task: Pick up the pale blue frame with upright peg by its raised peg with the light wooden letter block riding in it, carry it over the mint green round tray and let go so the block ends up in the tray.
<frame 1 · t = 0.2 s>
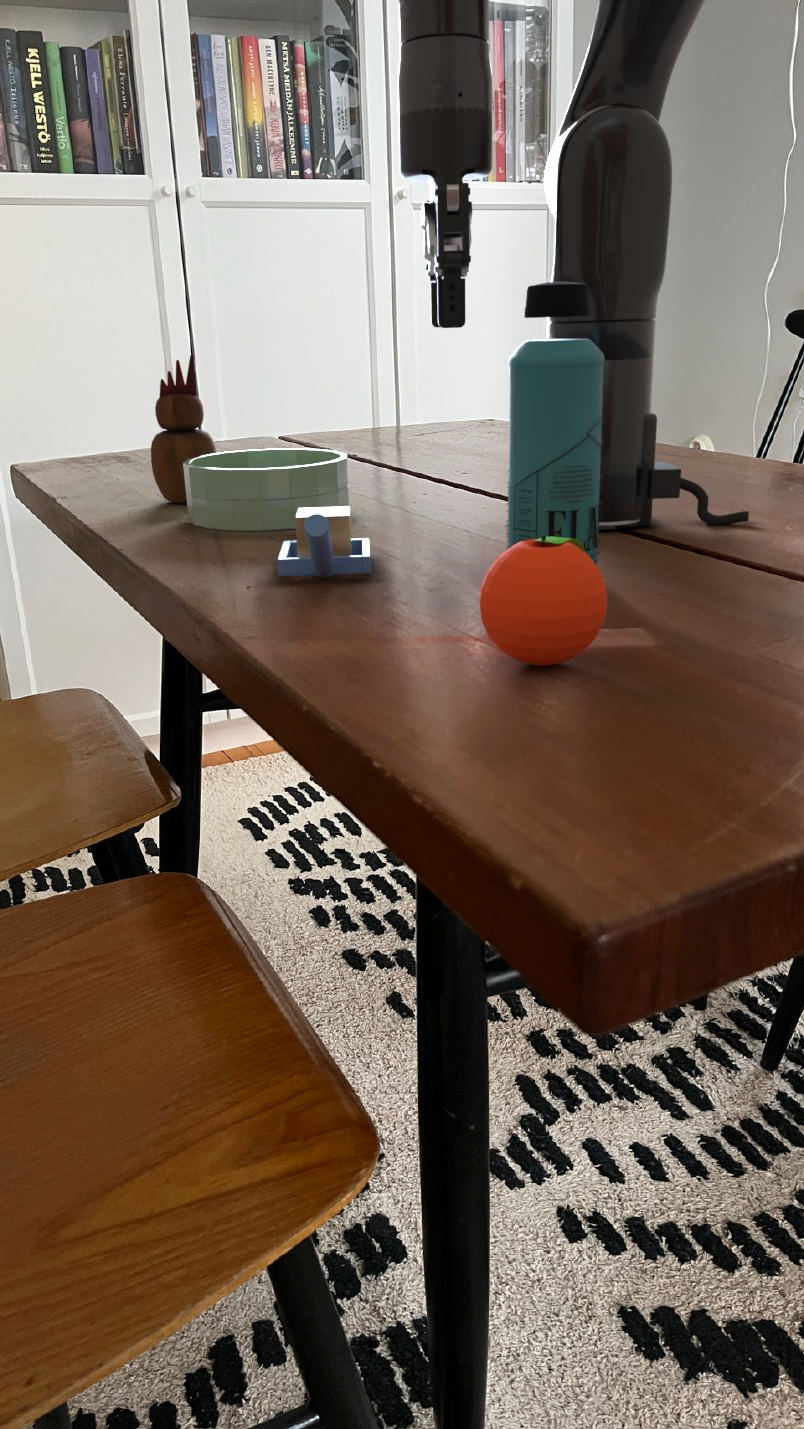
hand: (447, 327, 90), 17 cm above the table, tool pointing down, fingers open, 8 cm apart
frame with upright peg: (326, 571, 81), on the table, touching letter block
mint green round tray: (270, 522, 102), on the table
wooden figurine: (188, 503, 114), on the table
letter block: (326, 563, 81), point 1 cm above the table, touching frame with upright peg
clementine: (546, 663, 59), on the table
beverage bottle: (551, 591, 74), on the table
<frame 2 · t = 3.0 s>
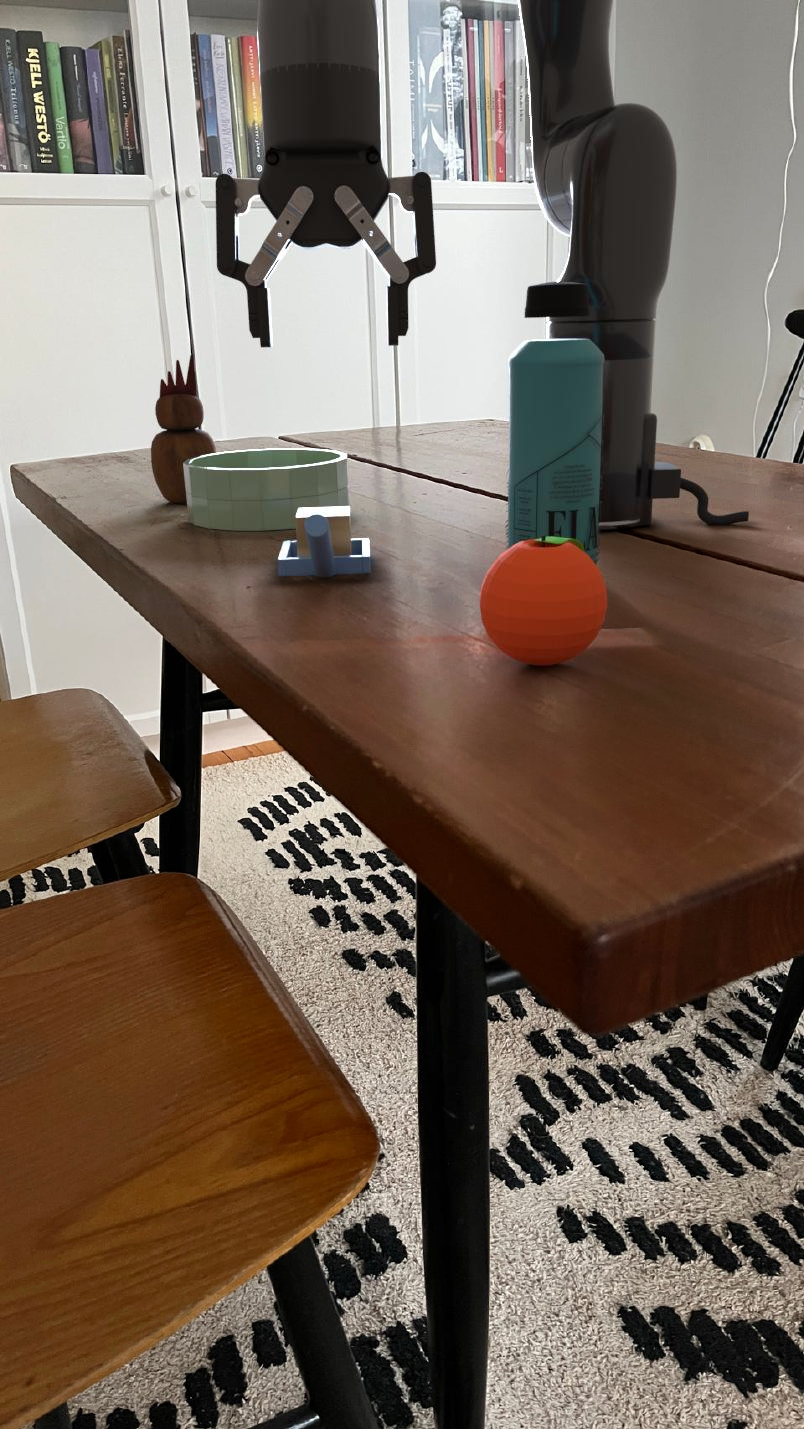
hand: (330, 346, 71), 16 cm above the table, tool pointing down, fingers open, 8 cm apart
nothing on the table moved.
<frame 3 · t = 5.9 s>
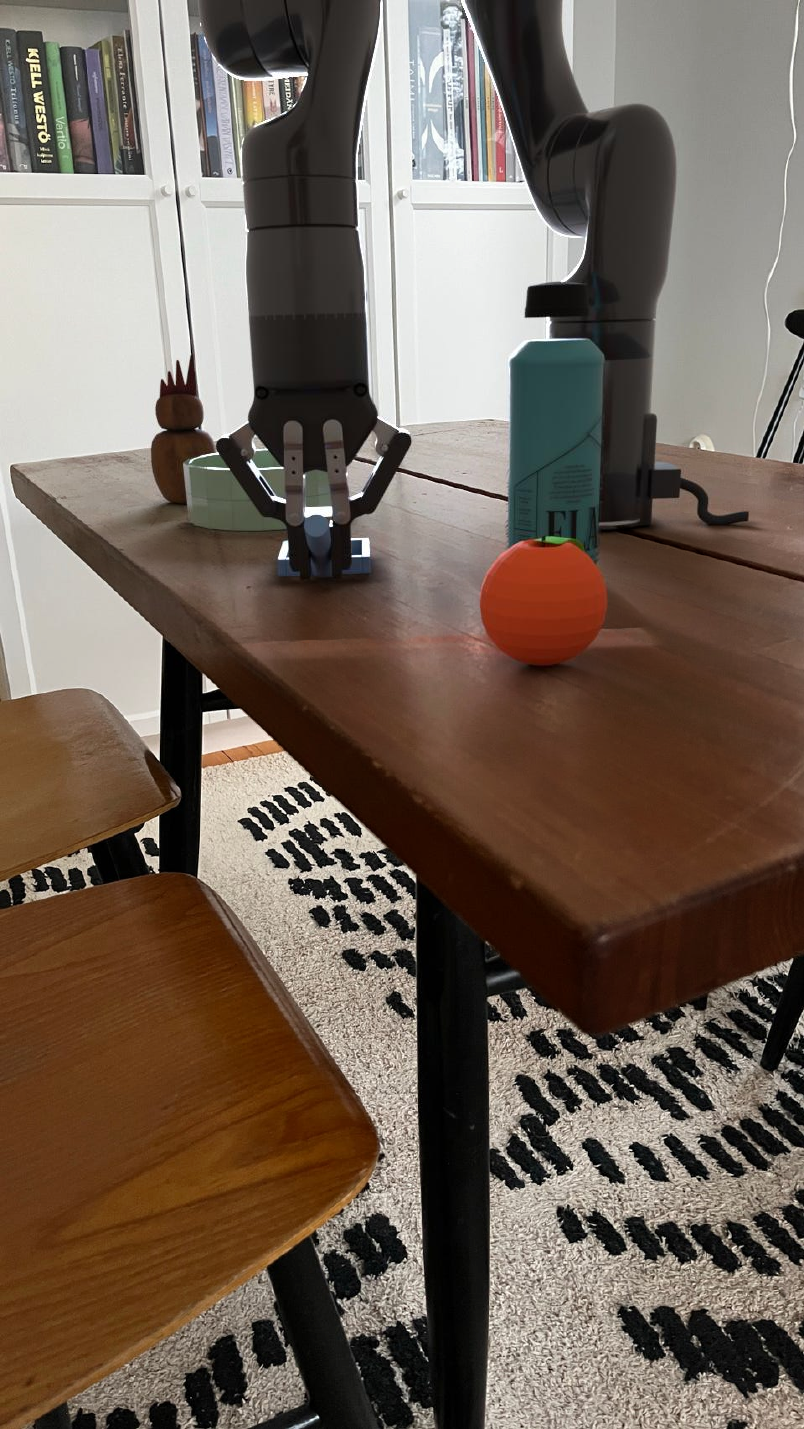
hand: (322, 576, 73), 2 cm above the table, tool pointing down, fingers closed on frame with upright peg
frame with upright peg: (326, 571, 81), on the table, touching gripper, letter block
everything else where it was.
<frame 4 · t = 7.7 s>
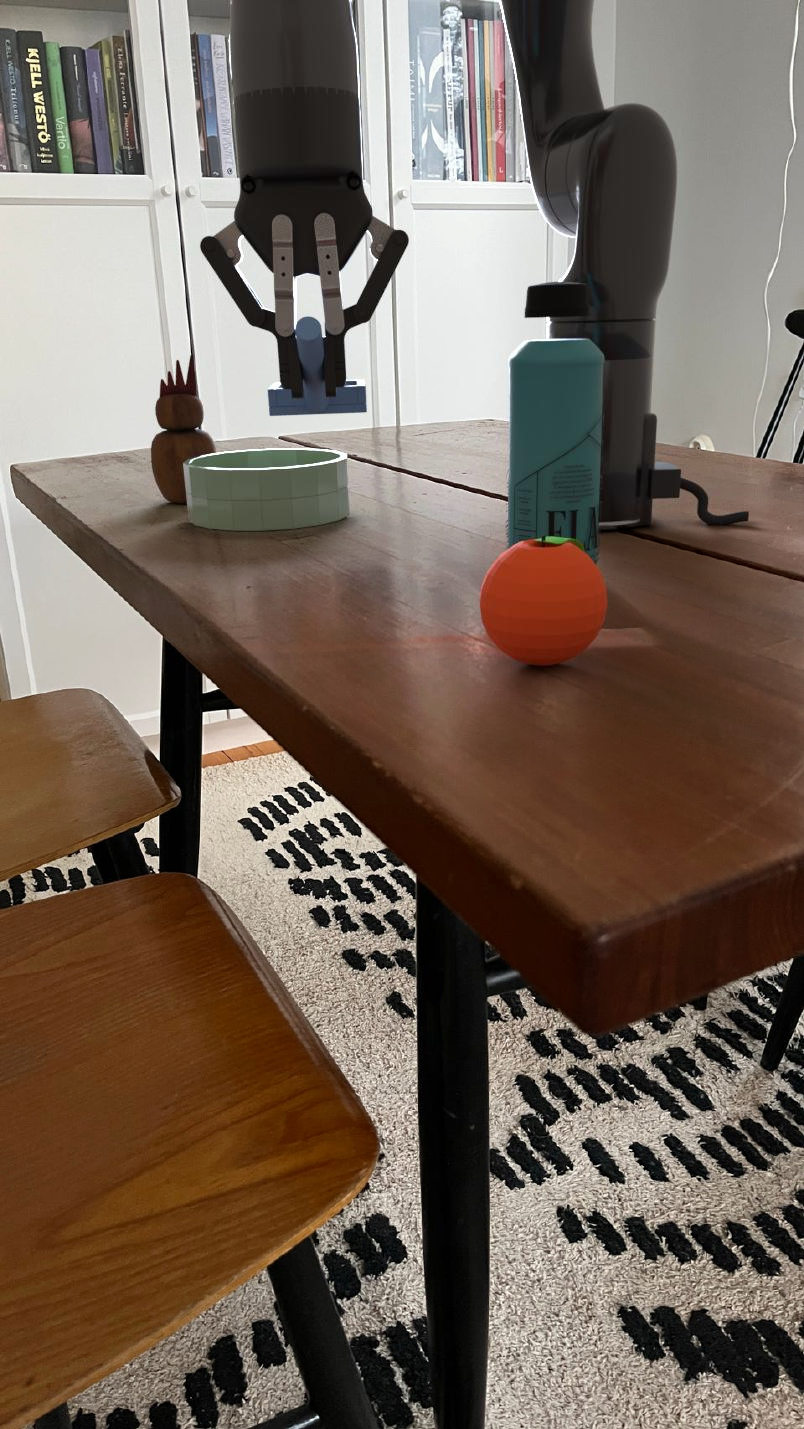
hand: (315, 396, 69), 14 cm above the table, tool pointing down, fingers closed on frame with upright peg
frame with upright peg: (319, 410, 77), point 12 cm above the table, touching gripper, letter block
letter block: (319, 401, 77), point 13 cm above the table, touching frame with upright peg
everything else where it was.
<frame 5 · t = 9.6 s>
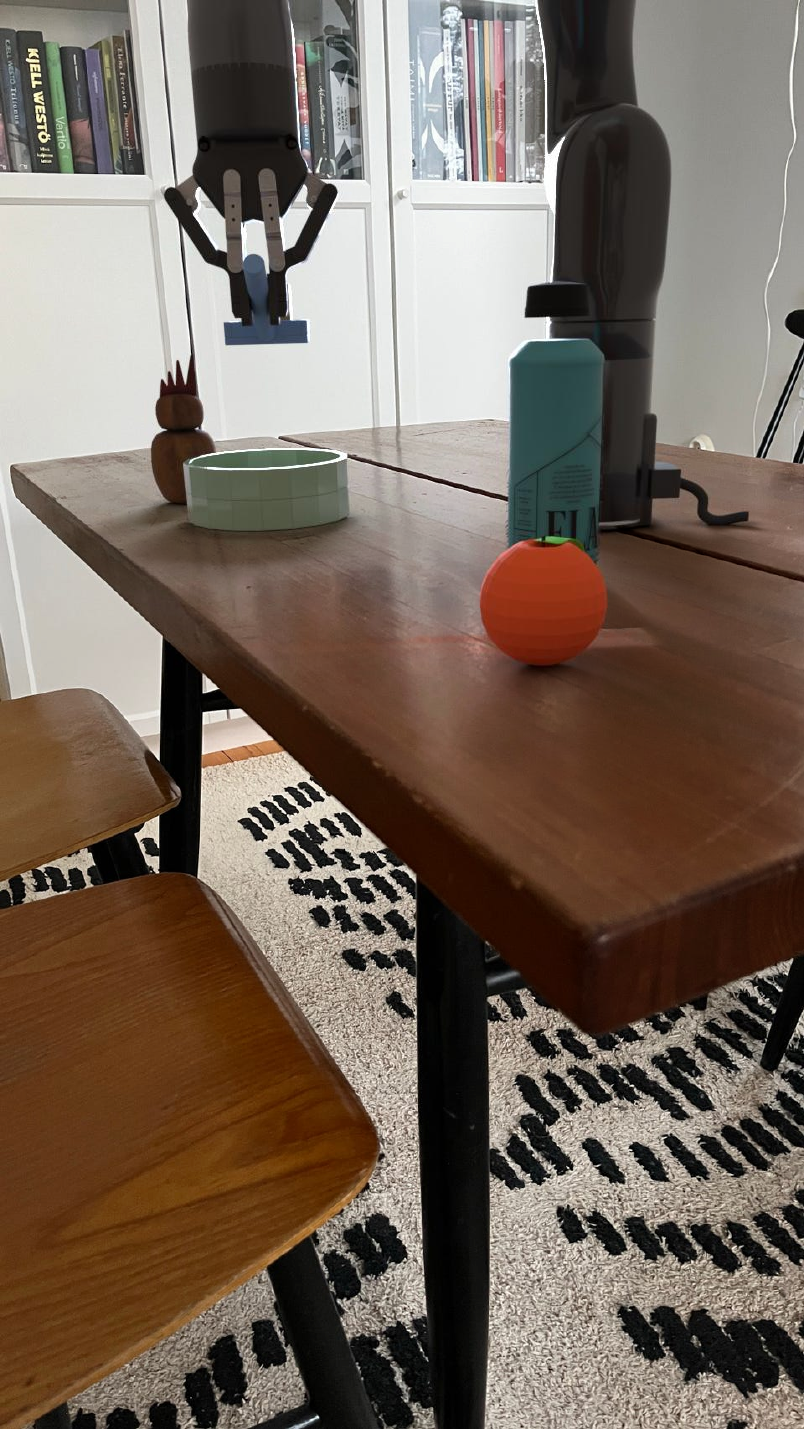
hand: (261, 324, 82), 18 cm above the table, tool pointing down, fingers closed on frame with upright peg
frame with upright peg: (269, 343, 90), point 16 cm above the table, touching gripper, letter block
letter block: (268, 335, 90), point 17 cm above the table, touching frame with upright peg
everything else where it was.
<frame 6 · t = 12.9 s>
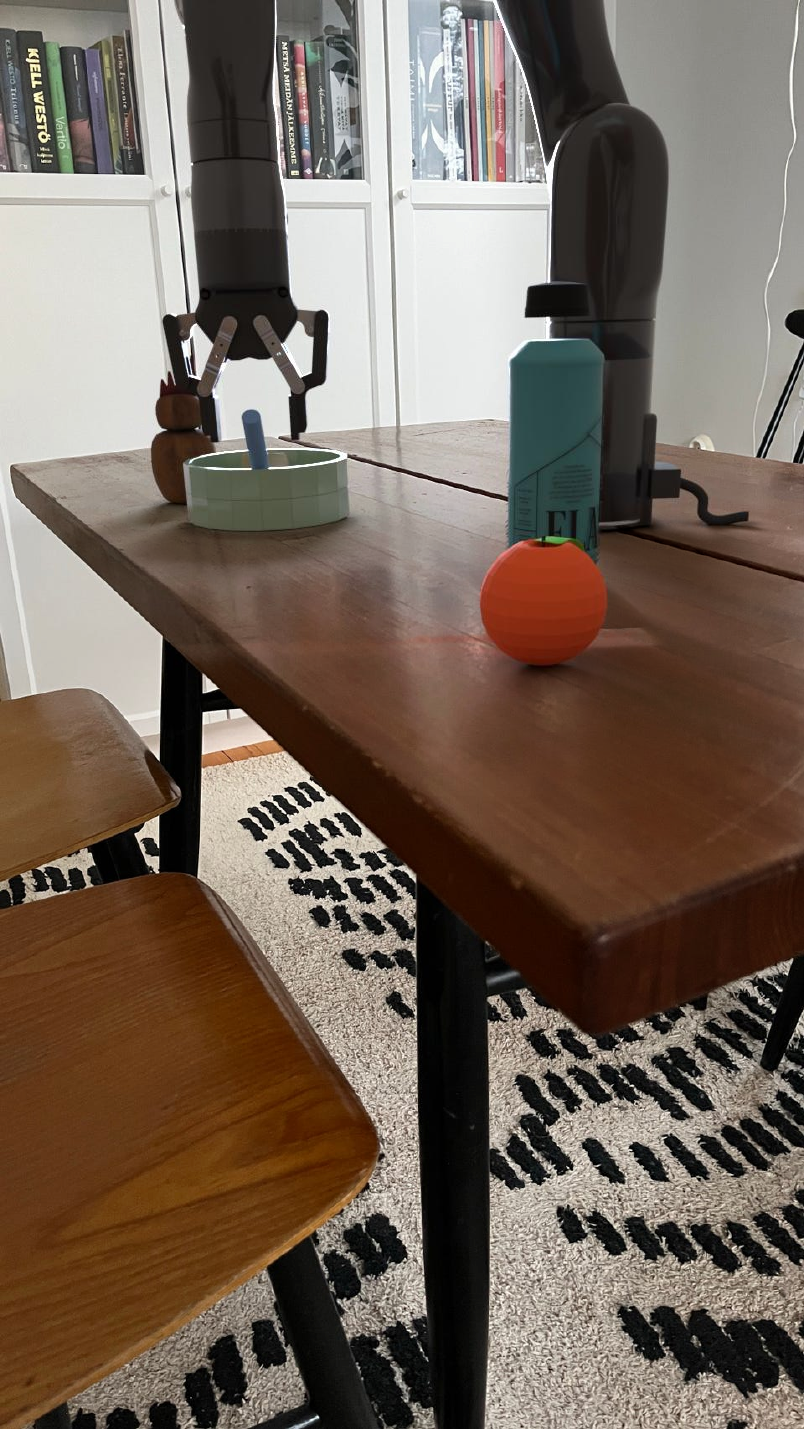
hand: (256, 440, 91), 9 cm above the table, tool pointing down, fingers open, 6 cm apart
frame with upright peg: (268, 506, 100), point 2 cm above the table, tilted 18°, touching mint green round tray, letter block
letter block: (267, 500, 100), point 2 cm above the table, tilted 18°, touching frame with upright peg
everything else where it was.
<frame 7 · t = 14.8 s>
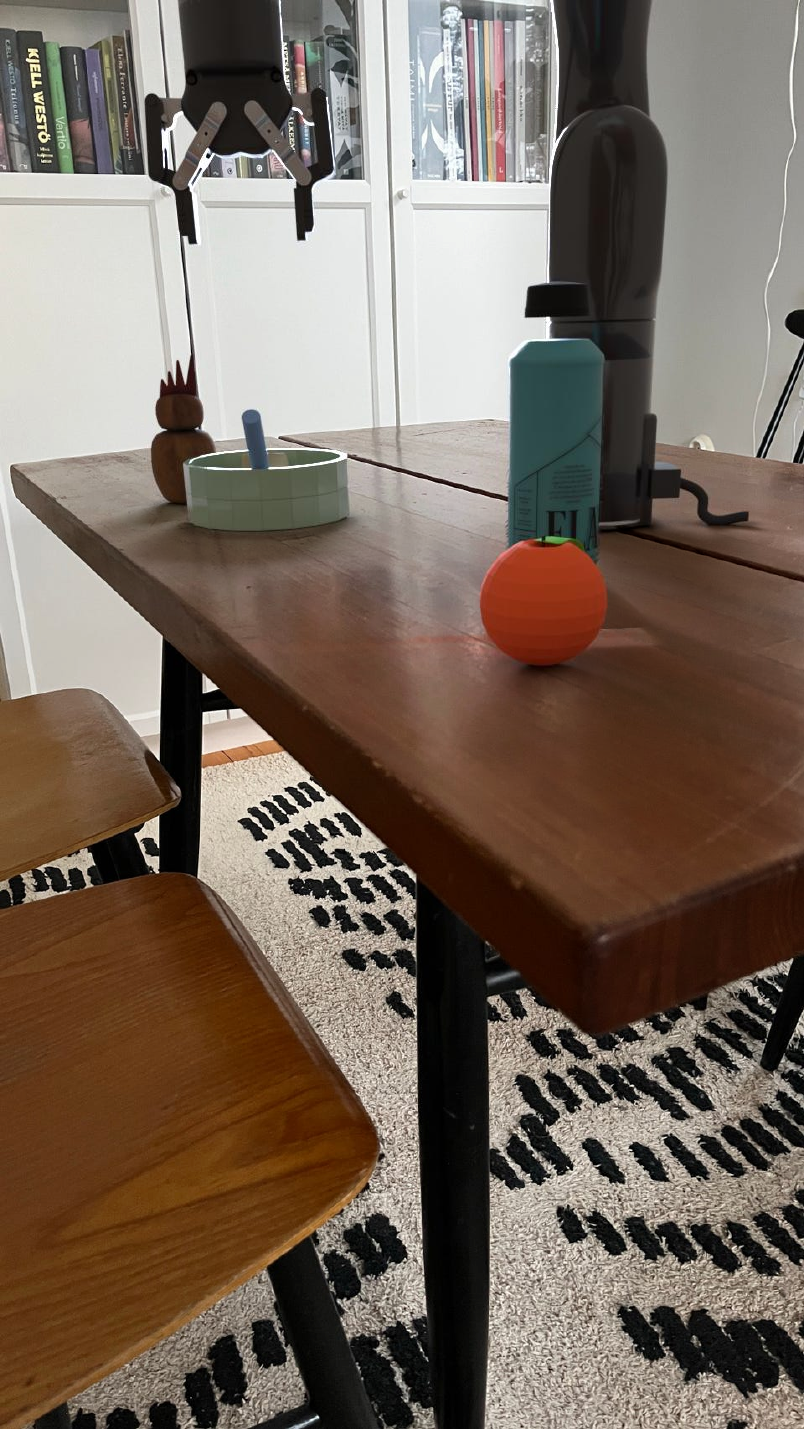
hand: (248, 243, 84), 24 cm above the table, tool pointing down, fingers open, 8 cm apart
nothing on the table moved.
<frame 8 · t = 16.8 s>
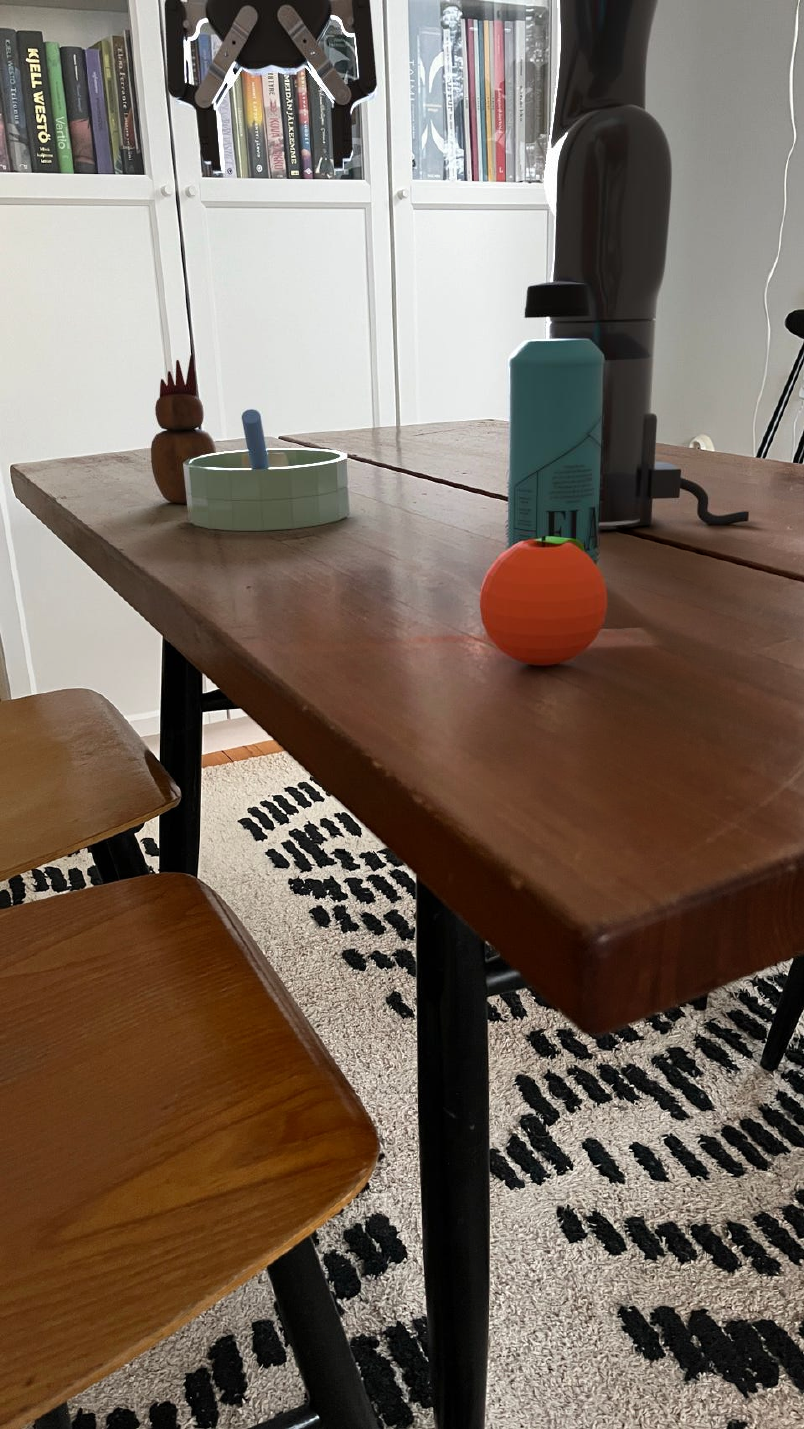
hand: (278, 171, 75), 28 cm above the table, tool pointing down, fingers open, 8 cm apart
nothing on the table moved.
at the end: letter block inside the target area in the mint green round tray (0.6 cm from its centre), point 2.2 cm above the mint green round tray's base; the gripper is holding nothing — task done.
